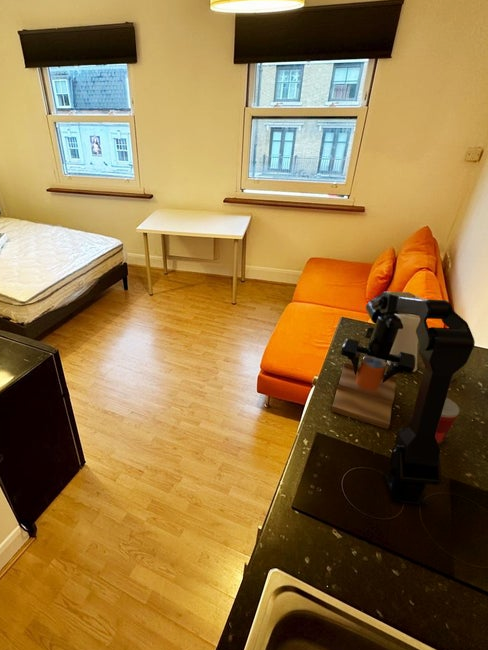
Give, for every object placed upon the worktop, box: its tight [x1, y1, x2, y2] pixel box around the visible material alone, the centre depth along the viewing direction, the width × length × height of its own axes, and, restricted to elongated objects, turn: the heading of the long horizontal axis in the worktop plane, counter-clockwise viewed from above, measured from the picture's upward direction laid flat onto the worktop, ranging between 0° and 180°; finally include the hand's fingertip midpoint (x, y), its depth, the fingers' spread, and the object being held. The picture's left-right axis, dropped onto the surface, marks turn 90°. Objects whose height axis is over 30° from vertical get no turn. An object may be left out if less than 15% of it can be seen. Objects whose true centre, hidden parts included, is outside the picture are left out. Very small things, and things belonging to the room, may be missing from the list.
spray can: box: [386, 294, 422, 373], centre depth 119 cm, size 12×11×25 cm
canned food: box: [435, 397, 460, 445], centre depth 98 cm, size 8×8×11 cm
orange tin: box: [356, 355, 388, 390], centre depth 110 cm, size 6×6×8 cm
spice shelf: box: [330, 361, 398, 430], centre depth 110 cm, size 18×15×6 cm
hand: (369, 377), depth 111 cm, fingers open, 7 cm apart
